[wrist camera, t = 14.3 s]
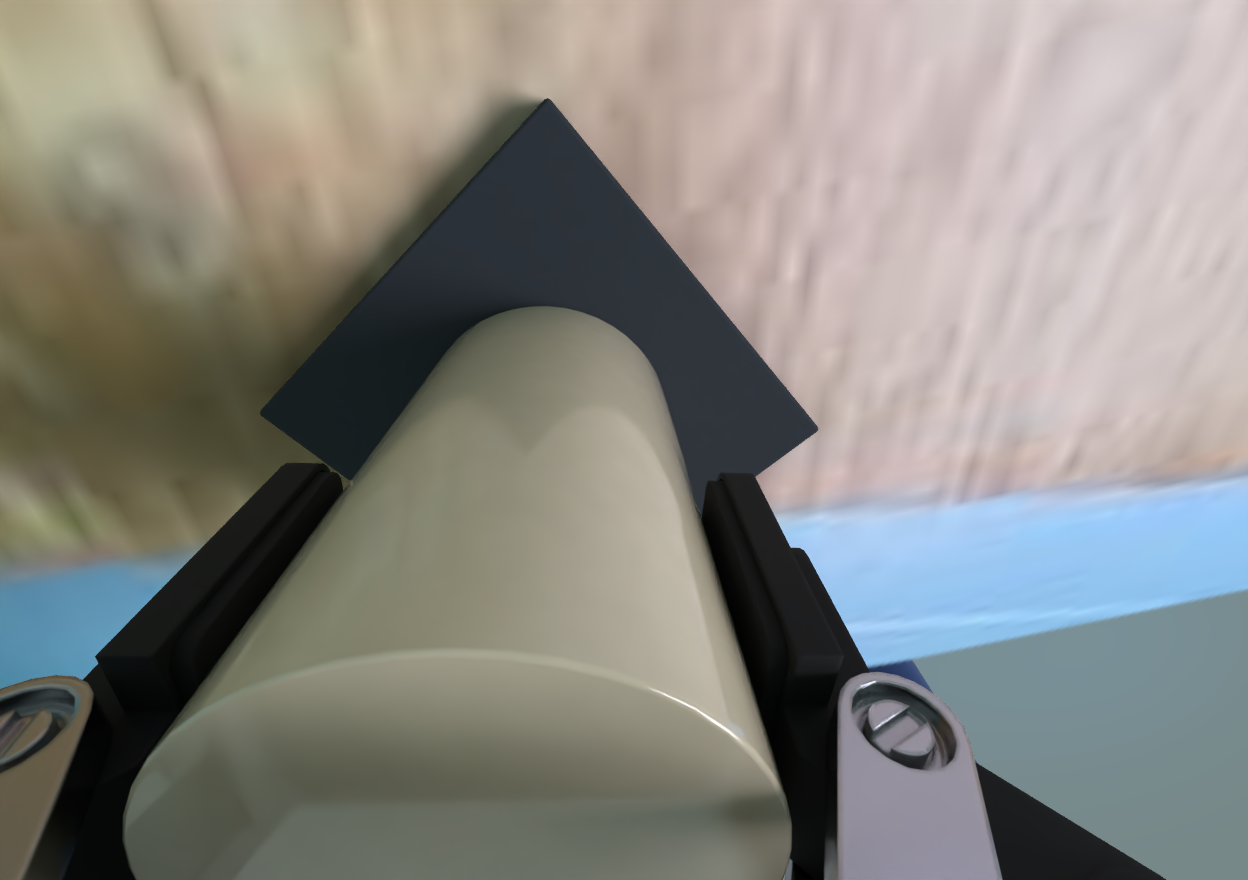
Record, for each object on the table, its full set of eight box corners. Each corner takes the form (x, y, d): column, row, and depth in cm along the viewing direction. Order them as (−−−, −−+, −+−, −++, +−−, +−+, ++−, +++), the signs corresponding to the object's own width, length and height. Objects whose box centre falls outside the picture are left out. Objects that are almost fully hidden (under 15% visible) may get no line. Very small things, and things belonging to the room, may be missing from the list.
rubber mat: (810, 417, 15) (820, 430, 15) (551, 609, 18) (549, 628, 17) (549, 98, 12) (547, 95, 11) (273, 401, 14) (256, 414, 14)
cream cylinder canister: (413, 299, 13) (-19, 653, 4) (678, 311, 13) (866, 652, 4) (443, 563, 16) (257, 1078, 7) (652, 565, 16) (725, 1054, 7)
